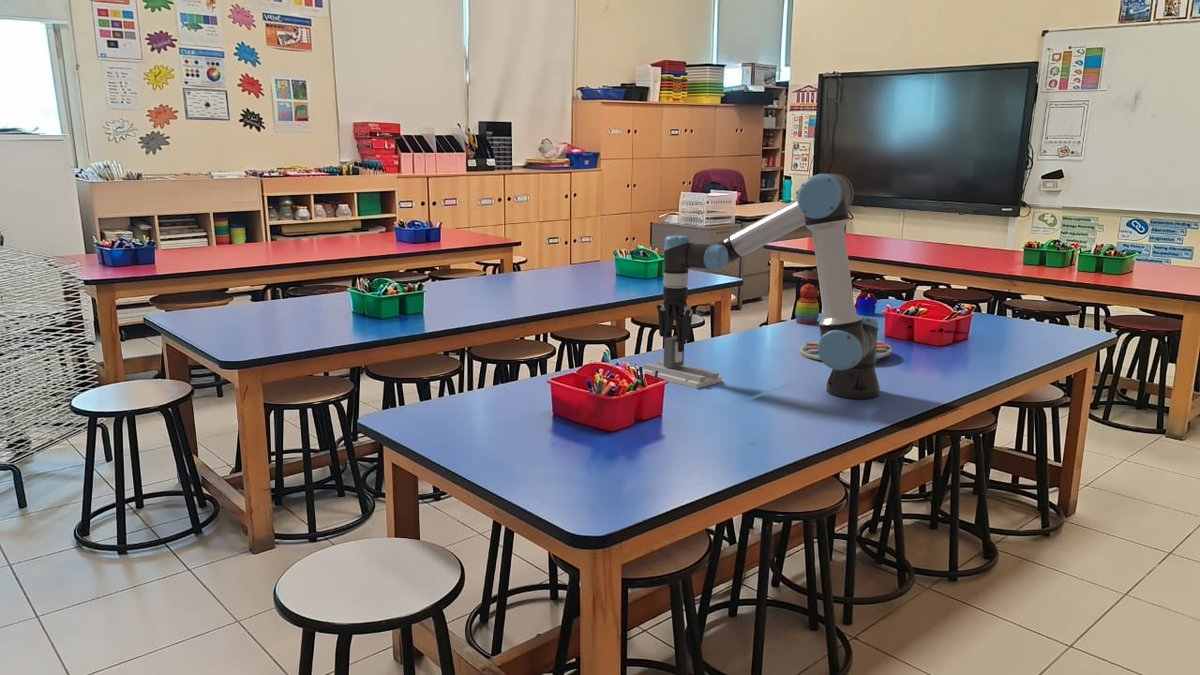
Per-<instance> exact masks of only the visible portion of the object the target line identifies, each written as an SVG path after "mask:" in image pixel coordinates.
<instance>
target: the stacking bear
mask: <svg viewBox="0 0 1200 675" xmlns="http://www.w3.org/2000/svg"><path fill="white" fill-rule="evenodd" d="M799 292H800V293H799V294H800V297H799V299H798V300H797V302H796V307H795V311H794V312H795V313H794V315H795V320H796V324H798V325H803V326H808V327H809V326H811V327H817V325H818V319H819V316H820V308H819V306H820V305H819V302H818V299H817V297H819V295H820V290H818V289H817V288H816V286H815V285H814V284H810V283H809V282H808V283H806V284H803V285H802V286H801V287H800V289H799Z"/></svg>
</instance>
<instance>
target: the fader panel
mask: <svg viewBox="0 0 1200 675" xmlns="http://www.w3.org/2000/svg"><path fill="white" fill-rule="evenodd" d="M656 362H657V363H656V364H653V363H649V362H648V363H644V364H643V368H642V369H643V371H644V372H645V373H648V374H652V375H654V374H655V371H656V370H657V371H658V376H659V377H661V378H664V379H668V380H669V382H670V383H672V384H675V385H676V384H678V385H681V386H685V387H688V388H693V389H701V388H703V387H708V386H710V385H715V384H718V383H721V382H722V381H723V376H721V375H720V372H717V371H711V370H707V369H702V368H699V367H694V366H690V365H686V364H684V365H682V366H681V371H680V370H676V369H672V368H667V367H664V359H662V360H661V359H660V360H658V361H656ZM719 375H720V376H719Z"/></svg>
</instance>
